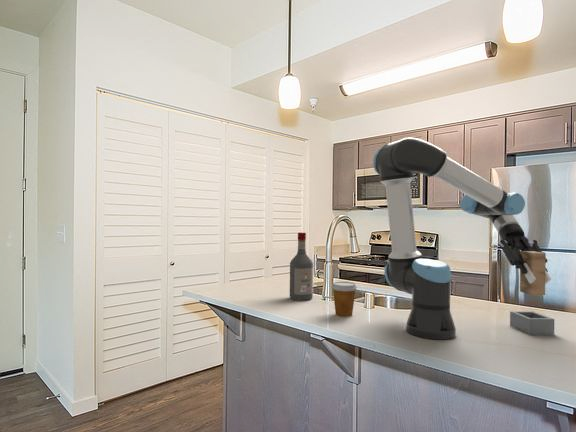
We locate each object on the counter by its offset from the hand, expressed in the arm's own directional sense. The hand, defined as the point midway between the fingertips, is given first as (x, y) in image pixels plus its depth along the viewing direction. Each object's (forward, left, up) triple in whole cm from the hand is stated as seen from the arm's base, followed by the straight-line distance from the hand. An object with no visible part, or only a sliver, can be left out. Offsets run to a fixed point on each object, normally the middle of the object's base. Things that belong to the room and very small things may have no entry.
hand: (540, 281), depth 124 cm
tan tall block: (-2, +3, -5) cm, 6 cm away
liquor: (-90, +7, -17) cm, 92 cm away
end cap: (-2, +3, -17) cm, 18 cm away
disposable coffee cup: (-64, -10, -17) cm, 67 cm away
